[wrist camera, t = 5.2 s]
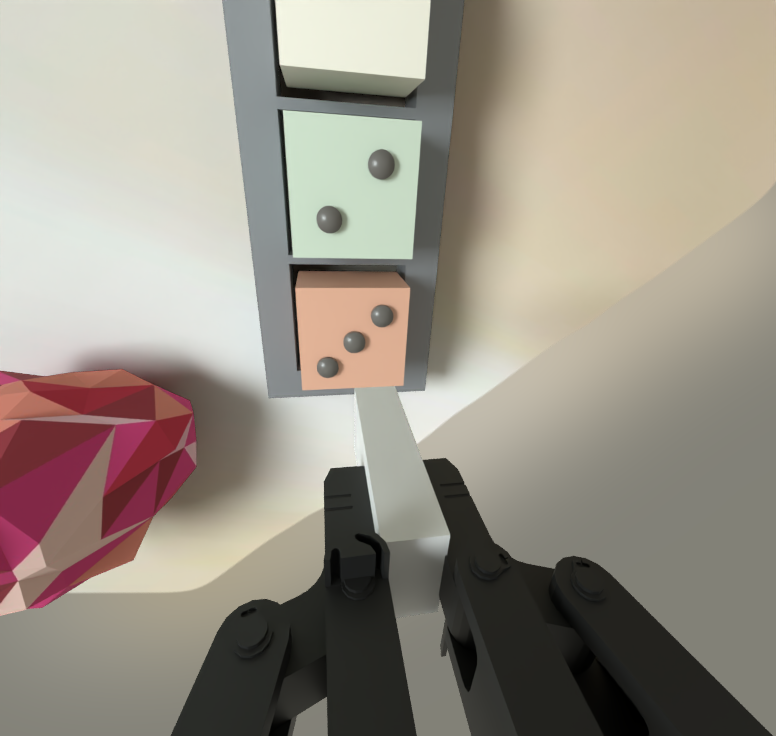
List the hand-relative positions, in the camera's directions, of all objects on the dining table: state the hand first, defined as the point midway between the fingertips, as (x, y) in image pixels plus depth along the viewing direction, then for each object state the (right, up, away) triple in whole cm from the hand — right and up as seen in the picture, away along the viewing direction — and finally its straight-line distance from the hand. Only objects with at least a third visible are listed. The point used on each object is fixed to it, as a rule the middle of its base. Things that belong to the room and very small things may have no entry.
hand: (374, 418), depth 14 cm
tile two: (-2, +12, +7) cm, 14 cm away
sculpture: (-23, -3, +13) cm, 26 cm away
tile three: (-2, +5, +10) cm, 12 cm away
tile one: (-1, +19, +3) cm, 19 cm away
